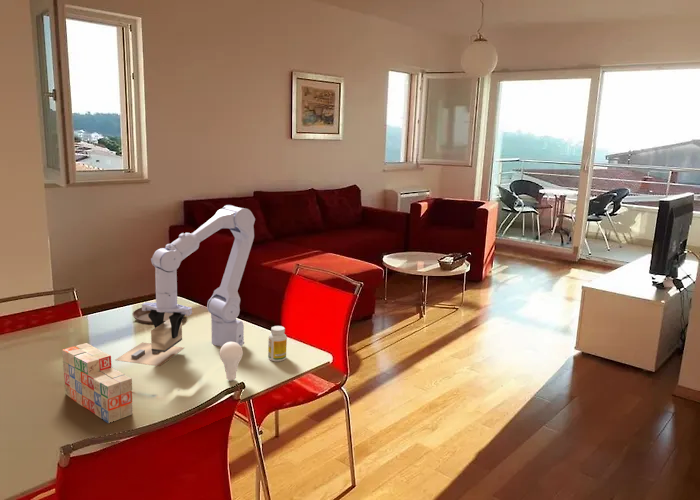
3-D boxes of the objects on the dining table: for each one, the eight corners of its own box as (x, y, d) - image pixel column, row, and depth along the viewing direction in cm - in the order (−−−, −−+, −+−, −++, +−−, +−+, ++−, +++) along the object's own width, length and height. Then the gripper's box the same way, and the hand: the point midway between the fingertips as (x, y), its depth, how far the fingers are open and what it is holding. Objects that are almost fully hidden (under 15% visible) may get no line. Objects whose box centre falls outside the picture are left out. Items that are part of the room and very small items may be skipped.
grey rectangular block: (144, 353, 164) (144, 350, 163) (136, 359, 159) (136, 355, 159) (140, 352, 164) (140, 349, 164) (131, 358, 160) (131, 355, 159)
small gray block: (164, 348, 168) (164, 345, 168) (156, 353, 163) (156, 350, 163) (160, 347, 168) (160, 344, 168) (152, 353, 164) (152, 350, 163)
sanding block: (182, 339, 166) (181, 320, 165) (164, 352, 156) (164, 332, 155) (169, 338, 167) (169, 319, 165) (151, 350, 157) (151, 330, 156)
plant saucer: (196, 317, 201) (196, 308, 201) (163, 332, 185) (163, 323, 185) (156, 309, 208) (156, 301, 207) (121, 323, 191) (120, 315, 191)
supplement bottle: (264, 359, 167) (264, 328, 165) (275, 353, 171) (275, 323, 169) (279, 363, 164) (280, 332, 162) (289, 357, 169) (290, 327, 167)
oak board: (184, 352, 169) (184, 347, 169) (160, 371, 156) (160, 365, 155) (142, 346, 172) (142, 342, 172) (115, 364, 158) (114, 359, 158)
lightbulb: (246, 378, 154) (247, 340, 151) (235, 387, 148) (235, 348, 146) (227, 374, 156) (227, 336, 153) (215, 383, 150) (214, 344, 148)
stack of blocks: (133, 414, 132) (131, 366, 130) (108, 424, 127) (105, 374, 125) (89, 386, 145) (86, 341, 143) (64, 394, 140) (61, 348, 138)
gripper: (135, 292, 156) (136, 338, 159) (183, 297, 153) (184, 344, 156) (148, 285, 163) (150, 329, 165) (195, 290, 160) (195, 335, 163)
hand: (167, 336), depth 161 cm, fingers closed on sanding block, 4 cm apart
